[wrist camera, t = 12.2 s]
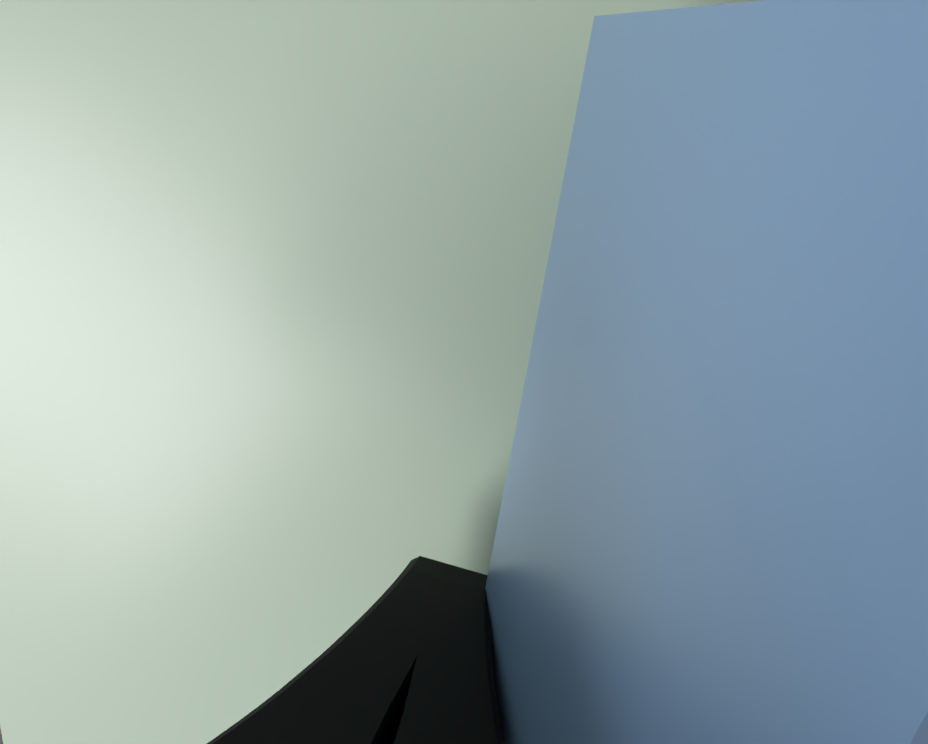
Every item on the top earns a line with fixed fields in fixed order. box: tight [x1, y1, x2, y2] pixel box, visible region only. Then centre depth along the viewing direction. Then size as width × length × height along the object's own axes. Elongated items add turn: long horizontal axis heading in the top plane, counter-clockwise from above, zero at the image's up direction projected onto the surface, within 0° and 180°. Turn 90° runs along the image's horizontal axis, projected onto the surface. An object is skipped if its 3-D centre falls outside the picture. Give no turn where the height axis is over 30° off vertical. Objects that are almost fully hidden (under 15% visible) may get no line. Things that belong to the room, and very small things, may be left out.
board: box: [0, 0, 762, 744], centre depth 9 cm, size 16×30×1 cm, turn 172°
